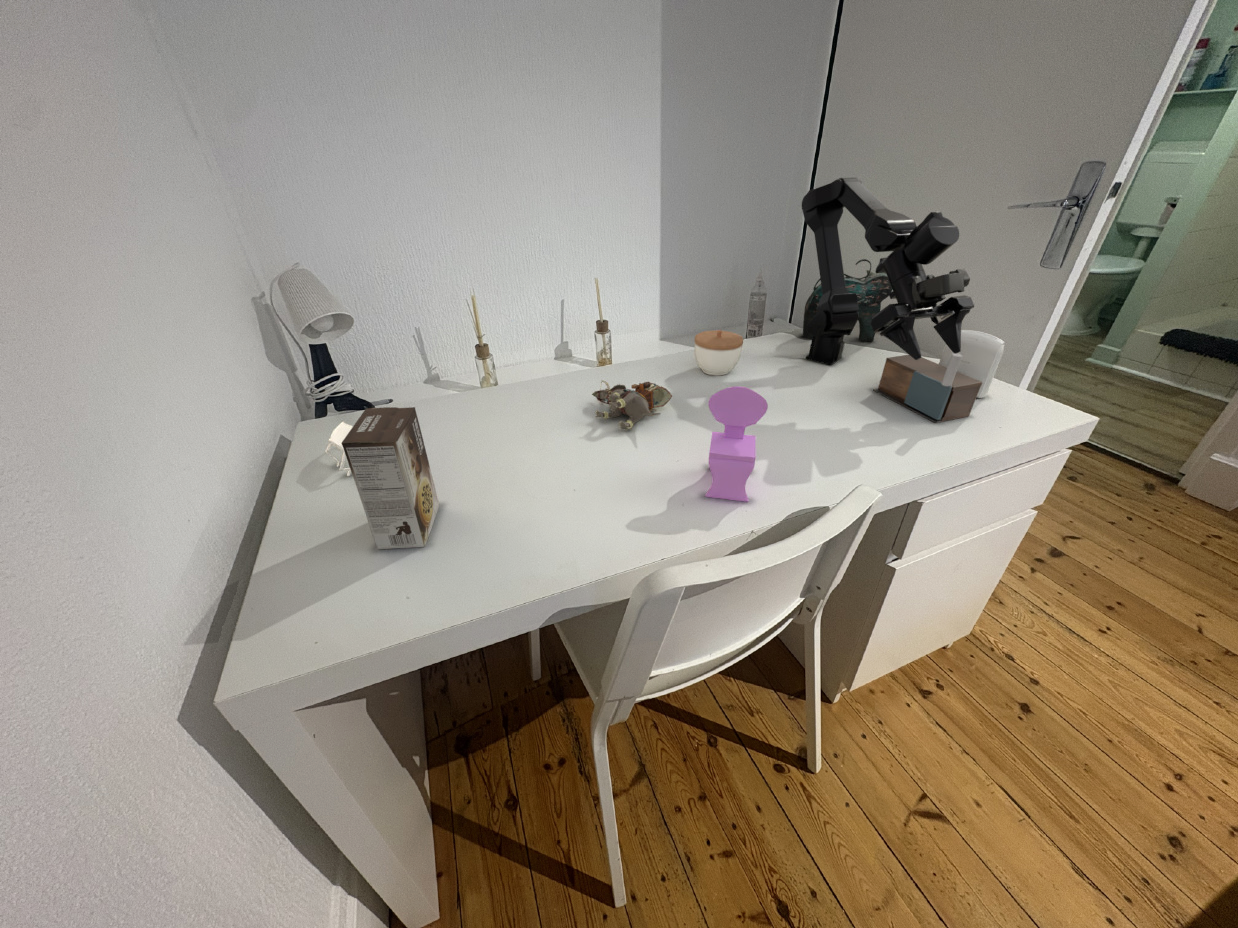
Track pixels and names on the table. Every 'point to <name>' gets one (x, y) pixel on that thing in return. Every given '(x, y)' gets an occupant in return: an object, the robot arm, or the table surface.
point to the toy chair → (733, 441)
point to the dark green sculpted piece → (869, 300)
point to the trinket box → (717, 351)
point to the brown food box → (392, 476)
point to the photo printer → (977, 357)
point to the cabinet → (904, 366)
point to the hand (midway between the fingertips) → (938, 355)
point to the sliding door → (932, 390)
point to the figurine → (632, 401)
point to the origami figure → (339, 443)
